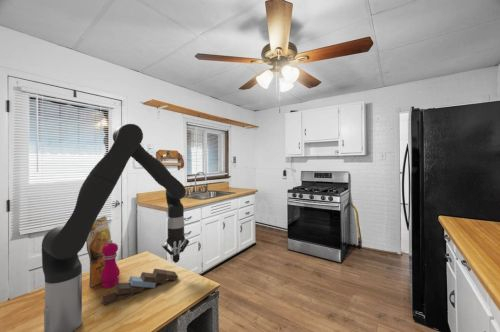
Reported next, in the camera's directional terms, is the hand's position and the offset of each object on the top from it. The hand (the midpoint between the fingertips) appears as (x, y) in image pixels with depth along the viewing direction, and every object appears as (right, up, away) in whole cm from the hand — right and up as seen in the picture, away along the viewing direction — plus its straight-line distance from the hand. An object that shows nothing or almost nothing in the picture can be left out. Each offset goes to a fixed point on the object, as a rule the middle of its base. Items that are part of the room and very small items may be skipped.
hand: (175, 261), depth 102 cm
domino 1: (-14, -7, -12) cm, 20 cm away
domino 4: (-4, -7, -3) cm, 9 cm away
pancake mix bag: (-36, -8, 0) cm, 36 cm away
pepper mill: (-28, -8, -6) cm, 29 cm away
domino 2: (-12, -7, -9) cm, 16 cm away
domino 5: (0, -7, 0) cm, 7 cm away
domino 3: (-8, -7, -6) cm, 12 cm away
